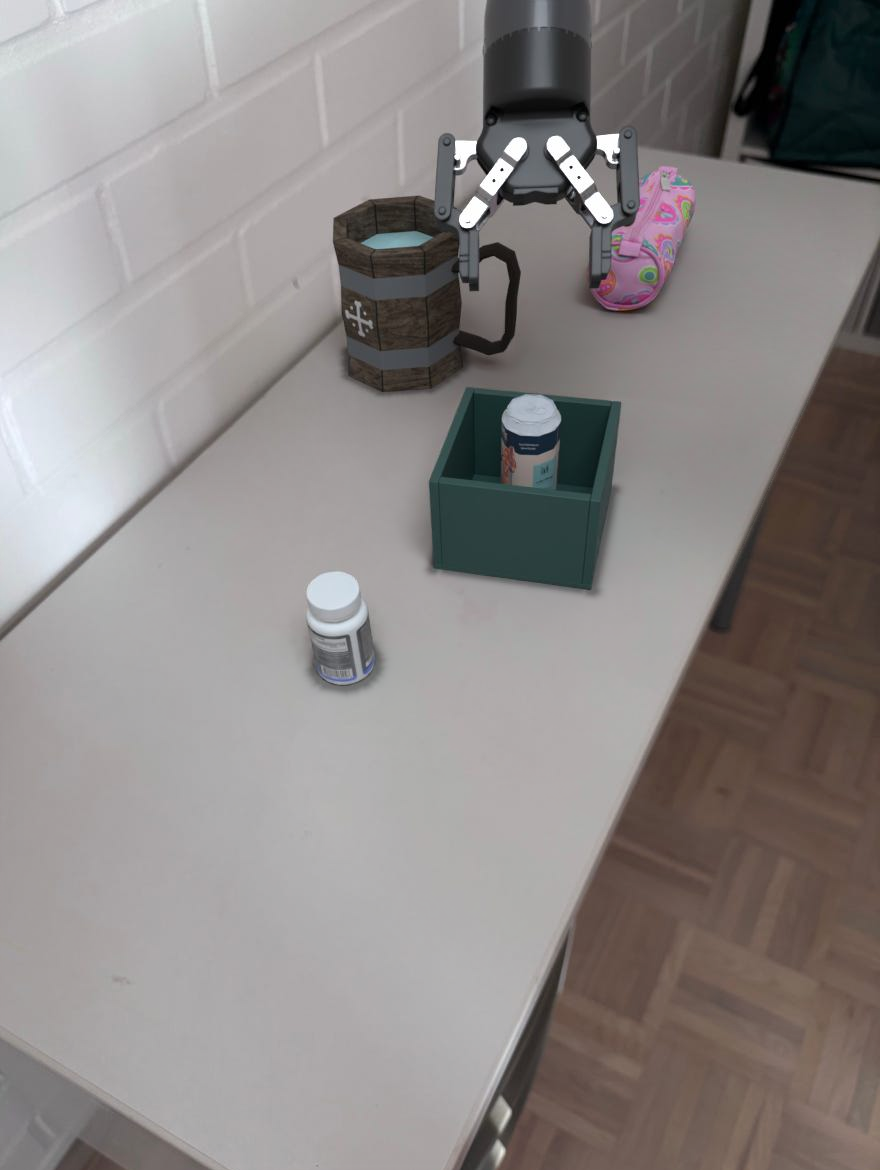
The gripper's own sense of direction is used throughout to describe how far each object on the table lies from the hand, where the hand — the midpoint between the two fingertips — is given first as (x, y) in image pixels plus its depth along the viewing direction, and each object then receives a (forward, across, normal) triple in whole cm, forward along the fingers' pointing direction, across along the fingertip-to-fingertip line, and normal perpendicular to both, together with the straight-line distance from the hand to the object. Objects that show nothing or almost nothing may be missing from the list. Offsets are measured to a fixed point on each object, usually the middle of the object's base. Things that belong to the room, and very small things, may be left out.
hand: (534, 286), depth 70 cm
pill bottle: (+28, -14, +6) cm, 32 cm away
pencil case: (-17, +14, +50) cm, 55 cm away
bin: (+16, 0, +18) cm, 24 cm away
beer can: (+15, 0, +18) cm, 23 cm away
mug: (-4, -10, +37) cm, 39 cm away
